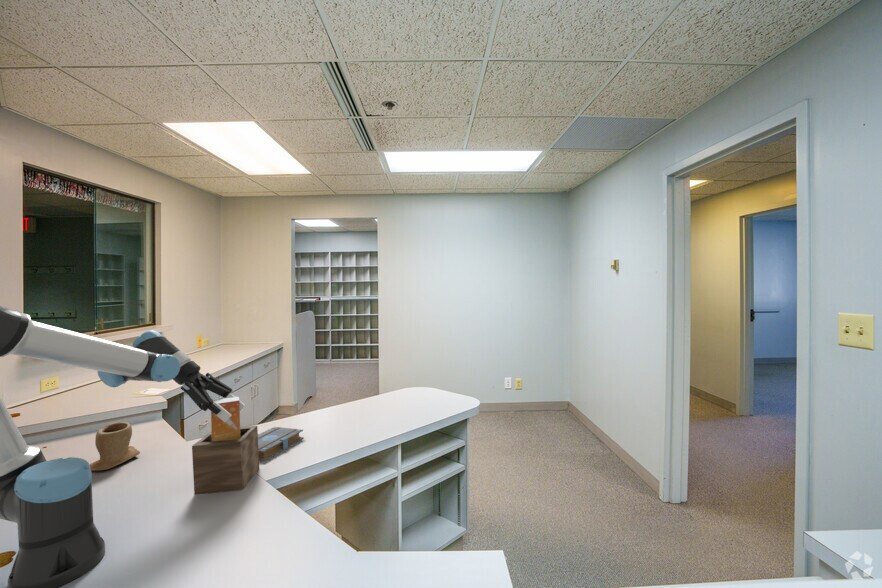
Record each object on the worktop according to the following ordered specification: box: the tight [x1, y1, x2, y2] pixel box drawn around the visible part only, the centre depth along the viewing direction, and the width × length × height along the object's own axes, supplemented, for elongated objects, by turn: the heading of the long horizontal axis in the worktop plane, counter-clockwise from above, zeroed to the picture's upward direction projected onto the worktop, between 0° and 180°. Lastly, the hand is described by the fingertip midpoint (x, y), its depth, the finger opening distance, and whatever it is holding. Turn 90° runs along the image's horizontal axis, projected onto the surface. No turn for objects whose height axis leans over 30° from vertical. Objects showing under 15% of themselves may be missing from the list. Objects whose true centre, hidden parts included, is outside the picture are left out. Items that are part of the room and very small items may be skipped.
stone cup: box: [89, 421, 141, 472], centre depth 137 cm, size 15×12×15 cm
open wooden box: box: [191, 425, 260, 496], centre depth 120 cm, size 14×14×15 cm
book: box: [258, 426, 304, 462], centre depth 146 cm, size 21×16×5 cm
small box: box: [210, 396, 241, 442], centre depth 120 cm, size 8×6×13 cm
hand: (235, 413), depth 120 cm, fingers open, 10 cm apart
